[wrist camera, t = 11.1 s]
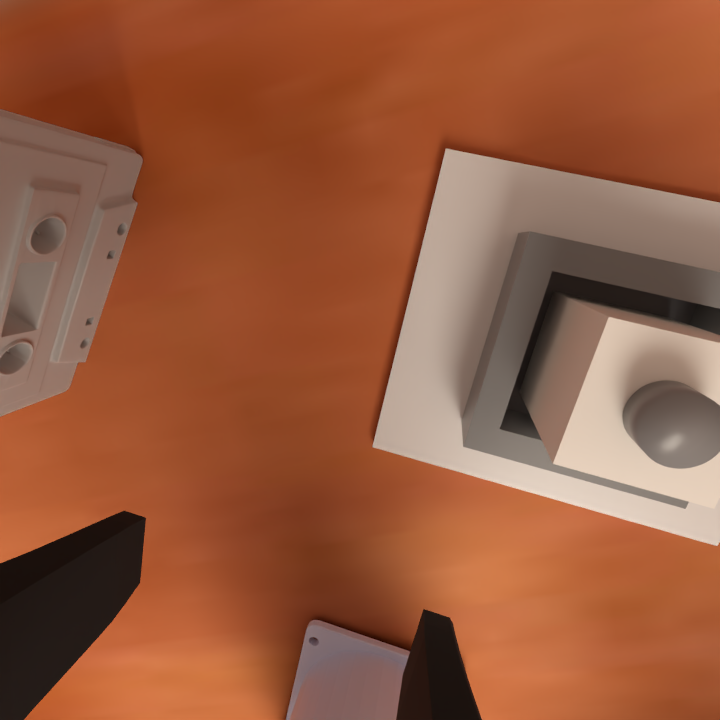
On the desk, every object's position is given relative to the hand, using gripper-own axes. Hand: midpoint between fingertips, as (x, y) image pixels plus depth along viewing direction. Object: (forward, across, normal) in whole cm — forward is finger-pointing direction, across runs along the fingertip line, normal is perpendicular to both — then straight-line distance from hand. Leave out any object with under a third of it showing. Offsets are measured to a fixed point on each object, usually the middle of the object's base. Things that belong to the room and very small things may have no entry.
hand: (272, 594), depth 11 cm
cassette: (+10, +13, -4) cm, 17 cm away
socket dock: (+9, -8, -6) cm, 14 cm away
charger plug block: (+9, -8, -6) cm, 13 cm away
